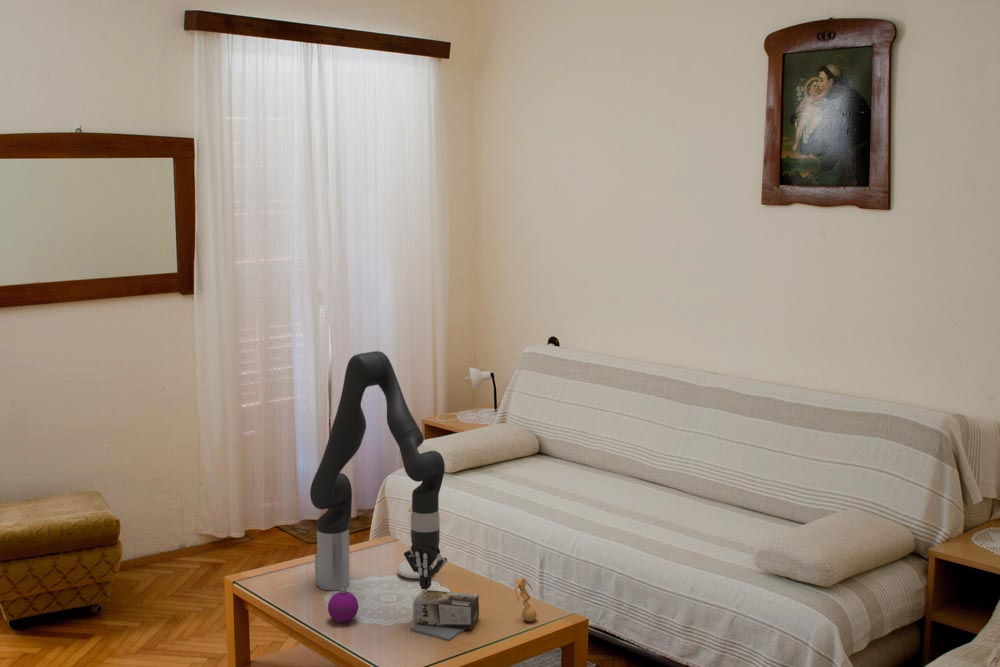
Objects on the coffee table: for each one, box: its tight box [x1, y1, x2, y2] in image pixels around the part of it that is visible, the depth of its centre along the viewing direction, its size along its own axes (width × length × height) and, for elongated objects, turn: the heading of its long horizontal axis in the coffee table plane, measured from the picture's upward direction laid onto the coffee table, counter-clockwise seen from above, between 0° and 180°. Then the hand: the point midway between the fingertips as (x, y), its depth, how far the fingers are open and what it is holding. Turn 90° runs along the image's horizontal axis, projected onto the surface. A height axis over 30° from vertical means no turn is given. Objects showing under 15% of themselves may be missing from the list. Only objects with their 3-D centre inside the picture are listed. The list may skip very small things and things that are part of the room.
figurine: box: [514, 577, 538, 623], centre depth 272 cm, size 8×6×12 cm
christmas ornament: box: [327, 586, 359, 623], centre depth 271 cm, size 8×8×10 cm
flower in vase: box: [396, 502, 435, 579], centre depth 302 cm, size 13×11×25 cm
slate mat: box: [410, 623, 466, 642], centre depth 268 cm, size 12×11×1 cm
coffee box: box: [412, 589, 480, 630], centre depth 271 cm, size 9×6×16 cm
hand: (425, 588), depth 269 cm, fingers closed
